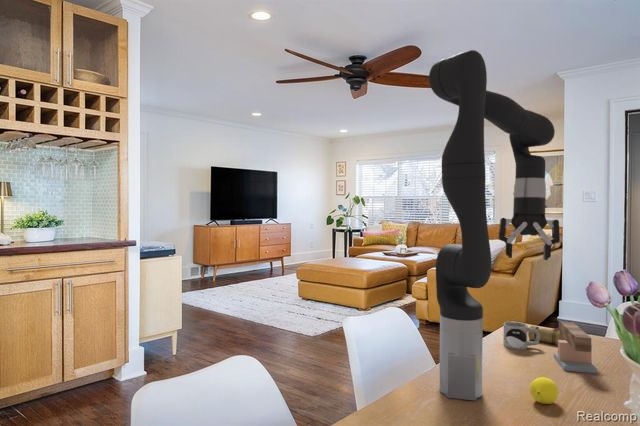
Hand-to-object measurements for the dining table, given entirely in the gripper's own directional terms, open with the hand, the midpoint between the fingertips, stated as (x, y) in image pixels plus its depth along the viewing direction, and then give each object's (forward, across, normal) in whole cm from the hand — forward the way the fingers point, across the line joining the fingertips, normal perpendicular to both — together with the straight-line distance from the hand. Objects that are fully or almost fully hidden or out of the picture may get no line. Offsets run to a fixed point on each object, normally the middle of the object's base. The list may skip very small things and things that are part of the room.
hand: (527, 258), depth 116 cm
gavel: (+28, +15, +35) cm, 47 cm away
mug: (+28, +2, +20) cm, 35 cm away
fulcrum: (+28, +13, +7) cm, 32 cm away
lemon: (+29, 0, -21) cm, 36 cm away
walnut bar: (+22, +13, +7) cm, 27 cm away
